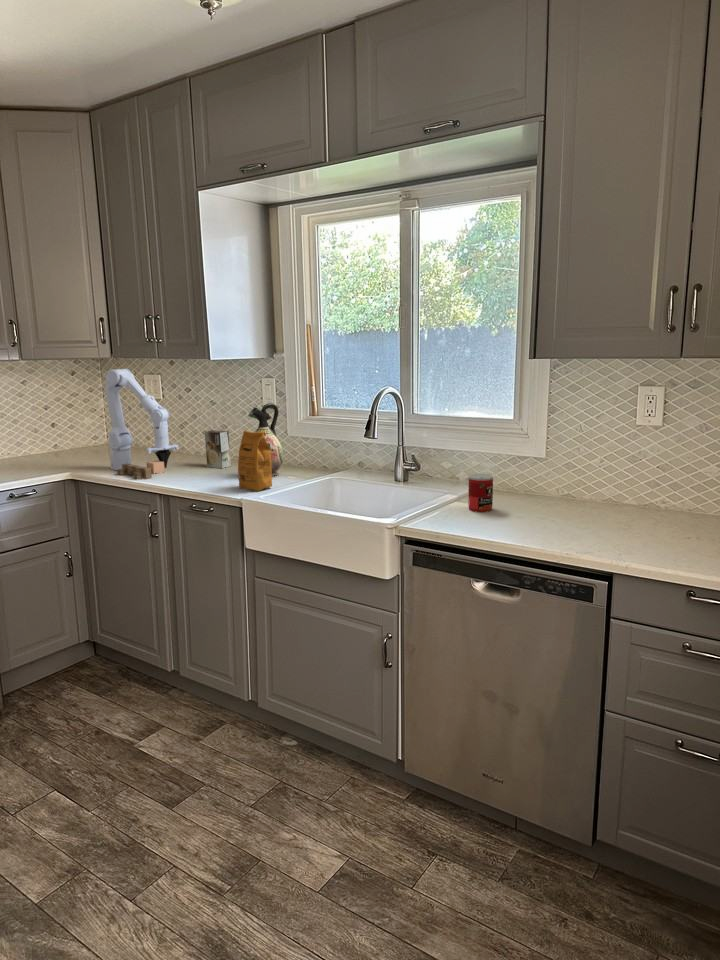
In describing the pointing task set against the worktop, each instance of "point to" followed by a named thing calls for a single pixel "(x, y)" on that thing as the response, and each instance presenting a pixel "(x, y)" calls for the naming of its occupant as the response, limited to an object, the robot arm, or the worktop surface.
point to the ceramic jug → (269, 434)
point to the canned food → (480, 492)
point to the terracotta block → (156, 466)
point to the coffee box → (217, 449)
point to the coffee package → (254, 462)
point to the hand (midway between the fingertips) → (164, 467)
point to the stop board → (135, 471)
